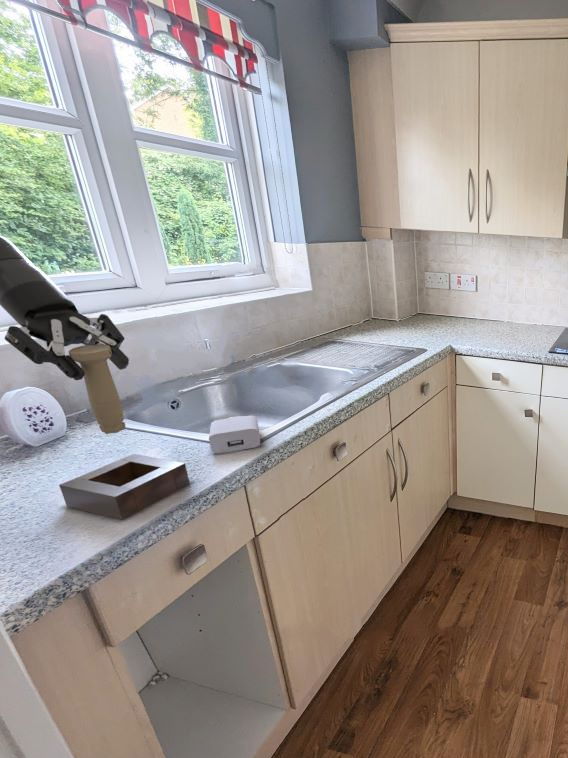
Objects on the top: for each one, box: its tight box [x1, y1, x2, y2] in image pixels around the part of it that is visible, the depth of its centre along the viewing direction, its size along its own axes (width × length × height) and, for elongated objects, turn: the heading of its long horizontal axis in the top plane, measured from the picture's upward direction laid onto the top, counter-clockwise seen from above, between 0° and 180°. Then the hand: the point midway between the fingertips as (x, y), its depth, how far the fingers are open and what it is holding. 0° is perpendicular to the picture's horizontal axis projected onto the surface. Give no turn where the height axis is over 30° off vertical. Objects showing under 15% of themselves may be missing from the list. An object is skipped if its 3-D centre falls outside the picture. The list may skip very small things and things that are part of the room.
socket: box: [58, 453, 191, 521], centre depth 83 cm, size 12×12×4 cm
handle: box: [68, 343, 126, 435], centre depth 78 cm, size 5×6×15 cm
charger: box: [208, 415, 261, 454], centre depth 107 cm, size 5×9×15 cm
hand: (103, 371), depth 76 cm, fingers closed on handle, 6 cm apart
